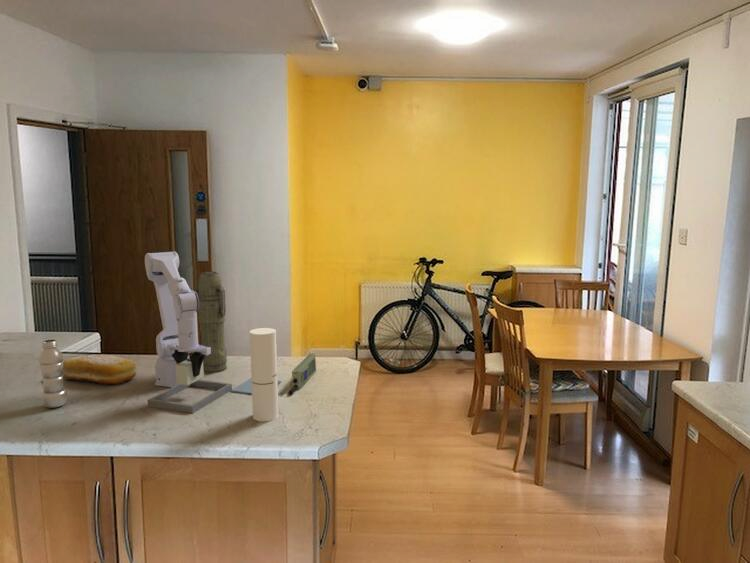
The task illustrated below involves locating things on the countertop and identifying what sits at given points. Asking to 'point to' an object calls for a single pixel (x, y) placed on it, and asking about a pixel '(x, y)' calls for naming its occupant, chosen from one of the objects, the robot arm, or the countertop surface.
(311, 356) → the handheld radio
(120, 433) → the countertop surface
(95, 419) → the countertop surface
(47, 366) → the plastic bottle
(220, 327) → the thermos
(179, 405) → the gray rectangular frame
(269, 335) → the cylindrical container
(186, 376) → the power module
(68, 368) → the bread
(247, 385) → the rubber mat
